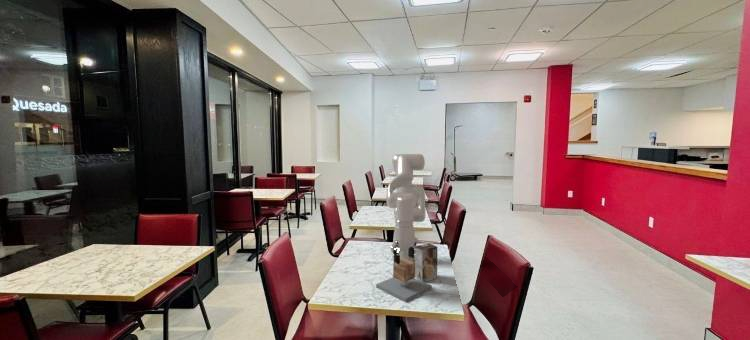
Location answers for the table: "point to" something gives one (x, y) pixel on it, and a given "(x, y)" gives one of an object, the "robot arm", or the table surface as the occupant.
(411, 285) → the post stand
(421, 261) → the coffee box
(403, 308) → the table surface
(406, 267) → the brown wooden cube
